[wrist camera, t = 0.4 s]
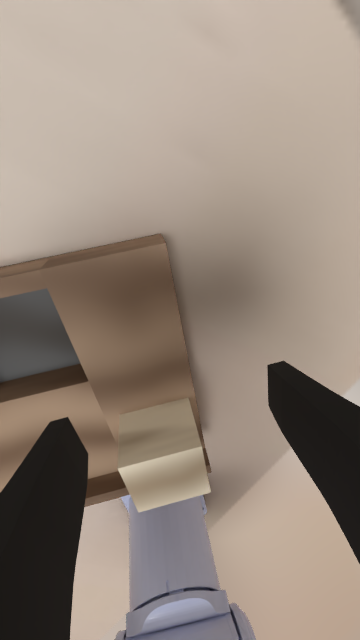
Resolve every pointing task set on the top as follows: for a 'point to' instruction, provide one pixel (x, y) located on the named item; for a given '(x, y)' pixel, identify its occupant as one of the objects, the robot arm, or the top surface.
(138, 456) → the birch block
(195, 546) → the robot arm
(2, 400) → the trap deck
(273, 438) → the top surface
